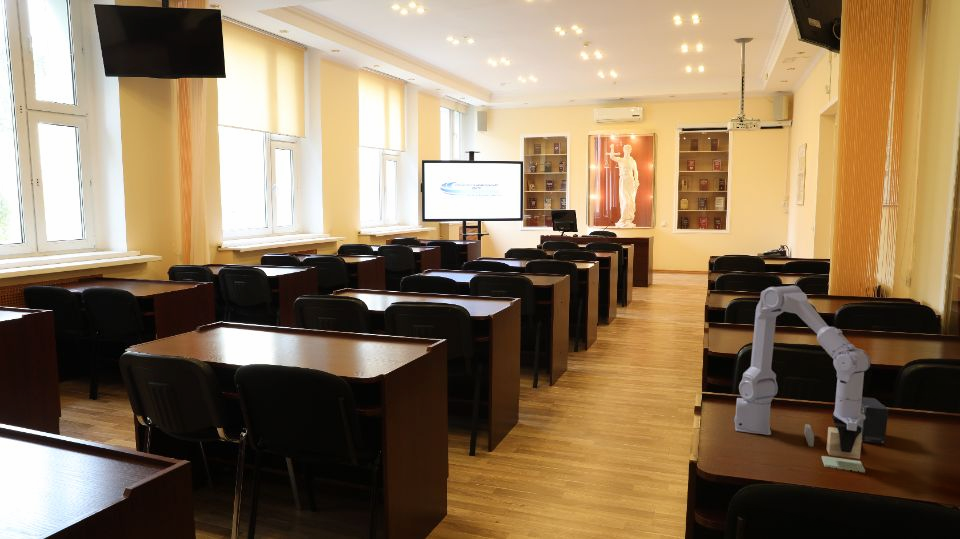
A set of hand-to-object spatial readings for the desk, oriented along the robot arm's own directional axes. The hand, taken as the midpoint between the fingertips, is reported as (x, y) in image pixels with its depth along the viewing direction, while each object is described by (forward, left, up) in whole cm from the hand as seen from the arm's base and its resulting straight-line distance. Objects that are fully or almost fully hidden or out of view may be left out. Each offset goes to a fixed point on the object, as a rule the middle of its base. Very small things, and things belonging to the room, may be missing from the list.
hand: (844, 448), depth 169 cm
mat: (0, 0, -4) cm, 4 cm away
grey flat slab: (-1, +16, -4) cm, 17 cm away
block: (0, 0, -2) cm, 2 cm away
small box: (+10, +25, -5) cm, 27 cm away
